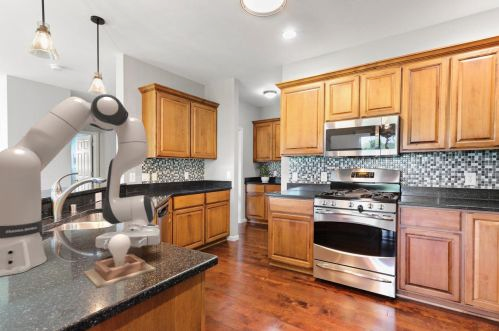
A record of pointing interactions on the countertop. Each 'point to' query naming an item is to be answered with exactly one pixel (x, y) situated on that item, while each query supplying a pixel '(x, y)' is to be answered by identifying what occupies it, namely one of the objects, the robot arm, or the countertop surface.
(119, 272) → the socket block
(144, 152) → the robot arm
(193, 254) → the countertop surface
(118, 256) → the lightbulb
